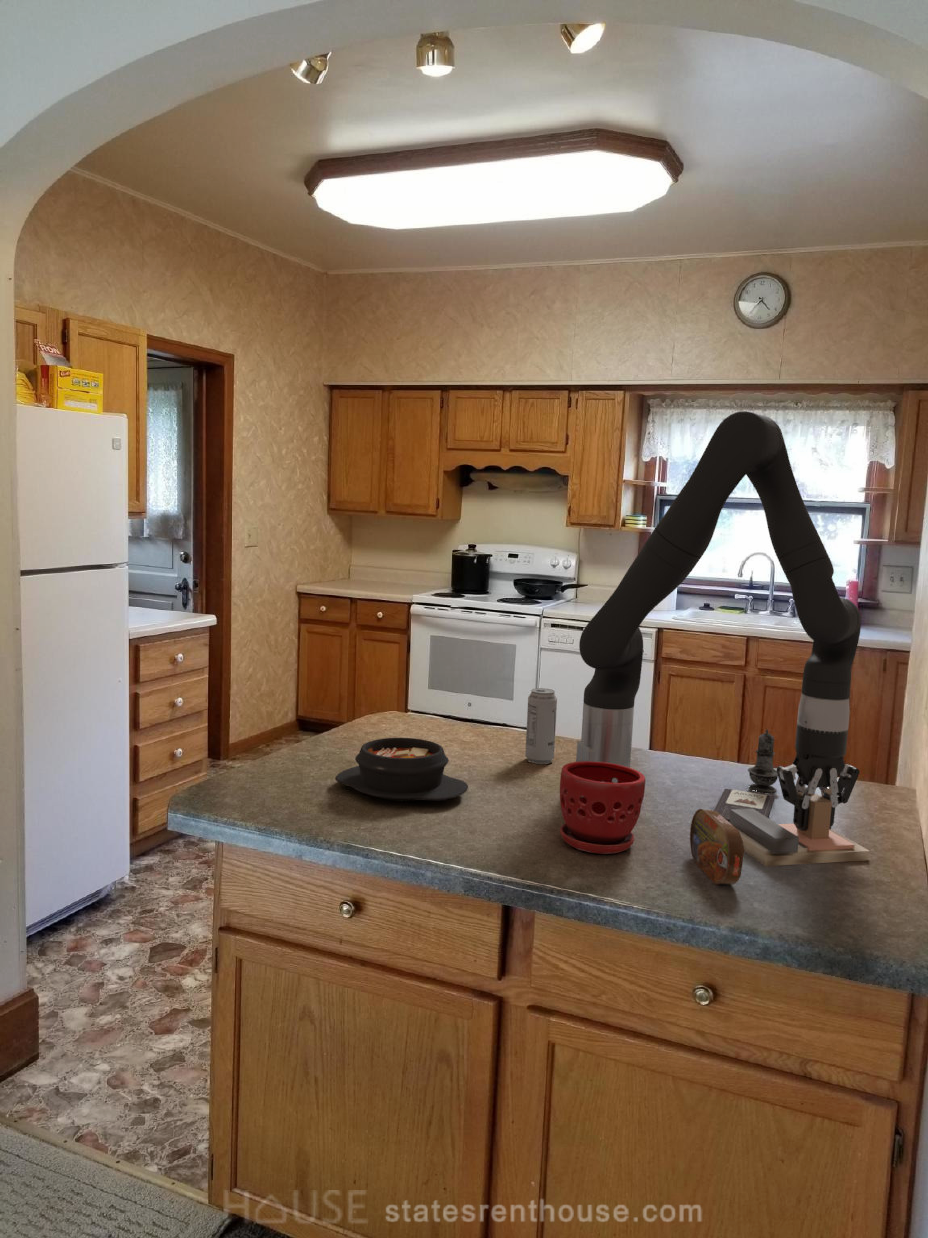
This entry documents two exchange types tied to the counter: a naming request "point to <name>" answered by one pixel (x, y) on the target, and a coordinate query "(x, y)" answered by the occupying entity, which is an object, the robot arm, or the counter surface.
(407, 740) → the casserole
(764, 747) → the stone finial
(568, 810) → the plant pot
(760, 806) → the chocolate bar
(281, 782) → the counter surface
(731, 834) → the tin
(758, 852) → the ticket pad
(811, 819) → the tan block on plate
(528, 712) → the energy drink can
